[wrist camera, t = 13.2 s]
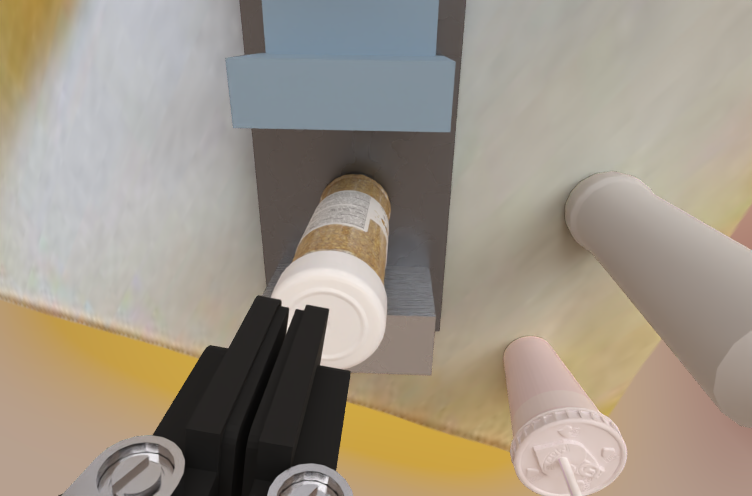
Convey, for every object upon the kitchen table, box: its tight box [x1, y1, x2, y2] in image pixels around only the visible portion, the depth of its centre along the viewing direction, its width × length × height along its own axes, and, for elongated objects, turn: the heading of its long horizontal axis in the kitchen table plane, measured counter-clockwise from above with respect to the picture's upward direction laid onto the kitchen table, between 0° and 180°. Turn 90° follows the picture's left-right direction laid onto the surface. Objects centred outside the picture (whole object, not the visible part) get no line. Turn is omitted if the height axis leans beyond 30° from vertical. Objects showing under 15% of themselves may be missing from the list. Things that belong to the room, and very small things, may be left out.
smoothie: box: [503, 336, 627, 496], centre depth 29 cm, size 6×6×14 cm
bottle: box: [565, 171, 752, 428], centre depth 19 cm, size 5×5×25 cm
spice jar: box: [271, 174, 391, 369], centre depth 24 cm, size 5×5×13 cm
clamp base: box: [240, 0, 466, 375], centre depth 25 cm, size 30×12×8 cm, turn 179°
